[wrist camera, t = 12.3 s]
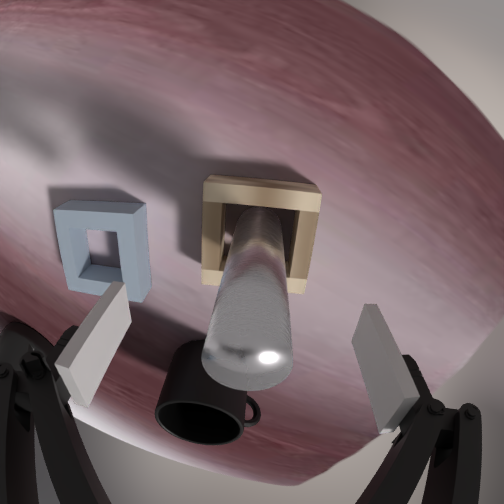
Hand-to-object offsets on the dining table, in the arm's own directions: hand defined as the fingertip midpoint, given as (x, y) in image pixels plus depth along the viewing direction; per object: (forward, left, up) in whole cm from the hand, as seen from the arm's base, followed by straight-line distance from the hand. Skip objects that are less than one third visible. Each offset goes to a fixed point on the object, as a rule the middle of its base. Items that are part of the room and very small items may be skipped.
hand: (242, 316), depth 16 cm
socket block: (-15, -3, -12) cm, 19 cm away
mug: (-3, -19, -13) cm, 23 cm away
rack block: (0, 0, -12) cm, 12 cm away
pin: (0, 0, -12) cm, 12 cm away
